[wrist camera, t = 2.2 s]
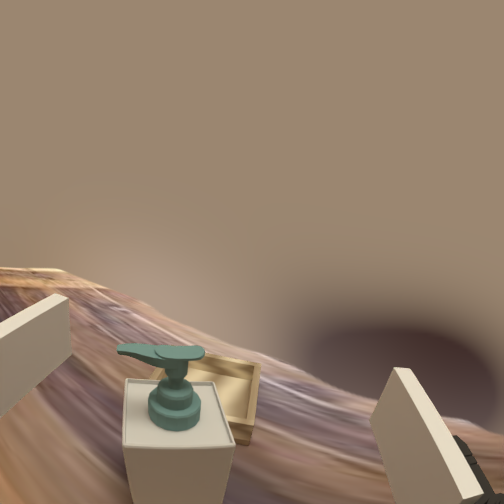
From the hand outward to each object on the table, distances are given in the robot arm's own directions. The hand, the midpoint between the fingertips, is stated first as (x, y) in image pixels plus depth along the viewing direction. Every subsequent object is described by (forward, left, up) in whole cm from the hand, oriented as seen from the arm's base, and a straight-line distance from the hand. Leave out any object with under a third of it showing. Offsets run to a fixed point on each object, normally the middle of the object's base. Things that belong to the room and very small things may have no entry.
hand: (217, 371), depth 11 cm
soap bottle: (+4, -10, -25) cm, 27 cm away
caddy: (+4, -27, -25) cm, 36 cm away
